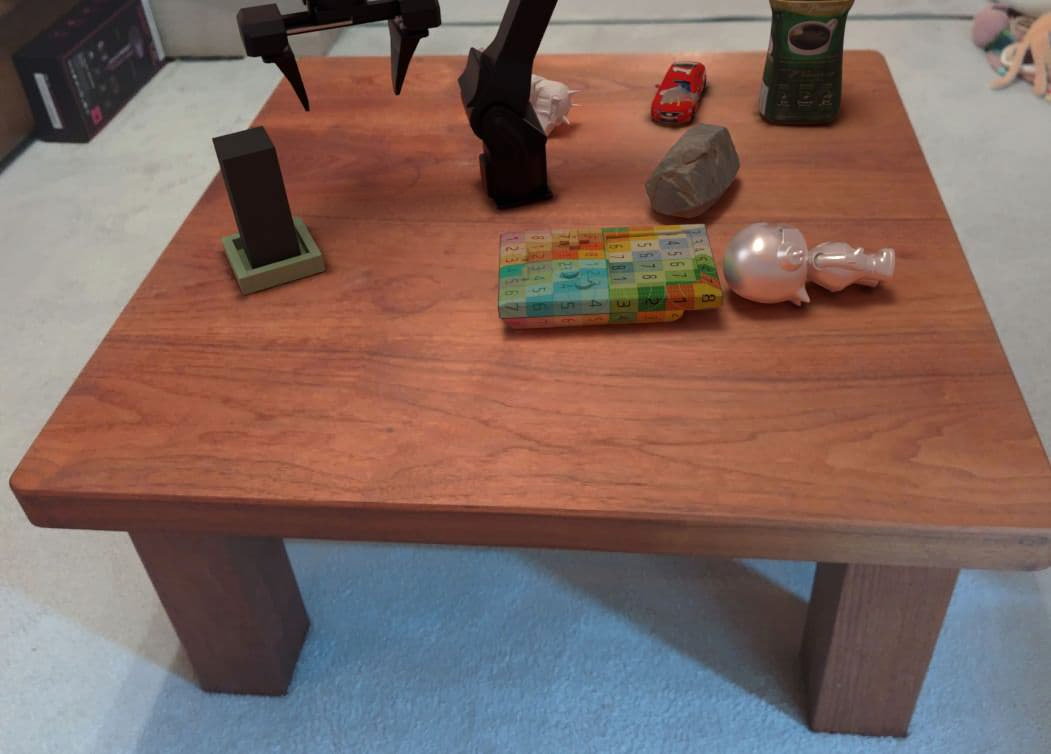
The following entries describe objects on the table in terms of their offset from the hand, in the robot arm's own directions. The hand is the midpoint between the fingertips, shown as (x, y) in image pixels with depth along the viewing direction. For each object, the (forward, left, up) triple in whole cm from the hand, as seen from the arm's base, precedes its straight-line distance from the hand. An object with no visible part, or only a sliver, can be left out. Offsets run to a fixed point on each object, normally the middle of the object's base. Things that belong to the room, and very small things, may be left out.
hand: (352, 101), depth 102 cm
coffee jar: (-53, -2, -13) cm, 55 cm away
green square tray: (+11, +5, -13) cm, 18 cm away
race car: (-41, -10, -13) cm, 44 cm away
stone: (-33, +11, -13) cm, 37 cm away
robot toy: (-22, -13, -13) cm, 29 cm away
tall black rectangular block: (+11, +5, -13) cm, 18 cm away
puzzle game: (-18, +24, -13) cm, 33 cm away
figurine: (-35, +31, -13) cm, 49 cm away
